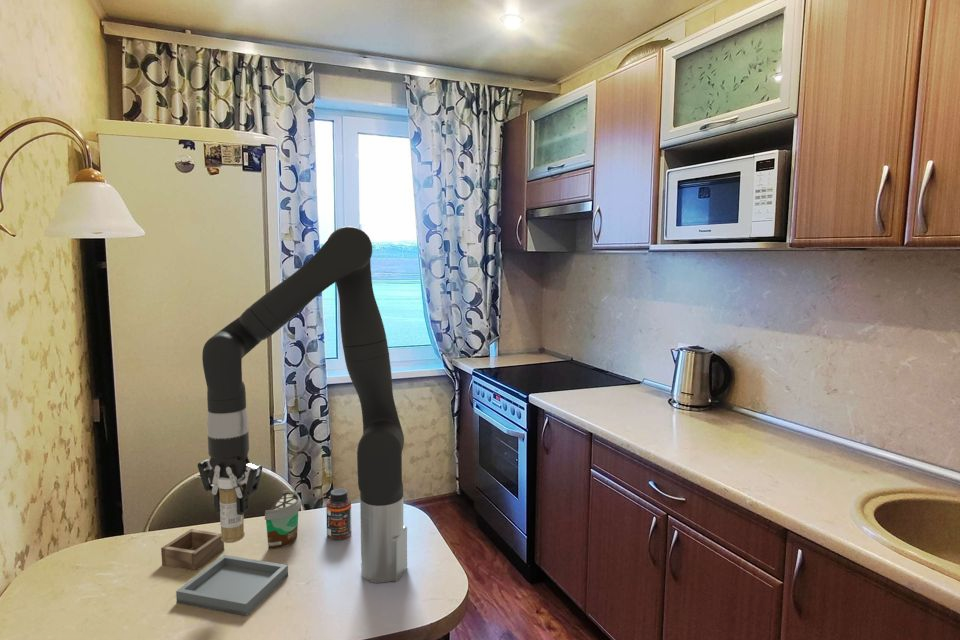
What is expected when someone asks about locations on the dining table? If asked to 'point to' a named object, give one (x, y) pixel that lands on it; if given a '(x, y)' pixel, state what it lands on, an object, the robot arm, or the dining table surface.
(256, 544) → the dining table surface
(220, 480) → the sprinkles bottle
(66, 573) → the dining table surface
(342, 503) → the supplement bottle
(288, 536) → the food container
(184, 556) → the socket
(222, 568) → the tray
